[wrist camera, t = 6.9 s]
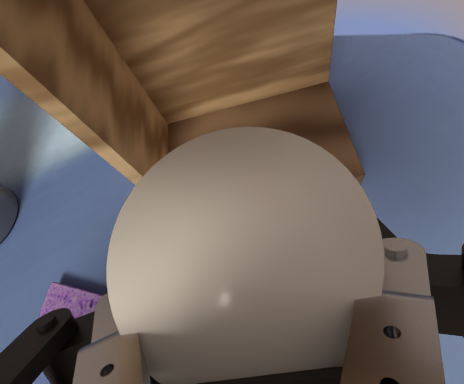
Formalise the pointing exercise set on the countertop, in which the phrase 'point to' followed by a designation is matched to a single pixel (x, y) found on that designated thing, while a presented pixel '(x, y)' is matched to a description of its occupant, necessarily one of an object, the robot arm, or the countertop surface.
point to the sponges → (70, 300)
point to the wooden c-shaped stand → (176, 72)
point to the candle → (243, 258)
